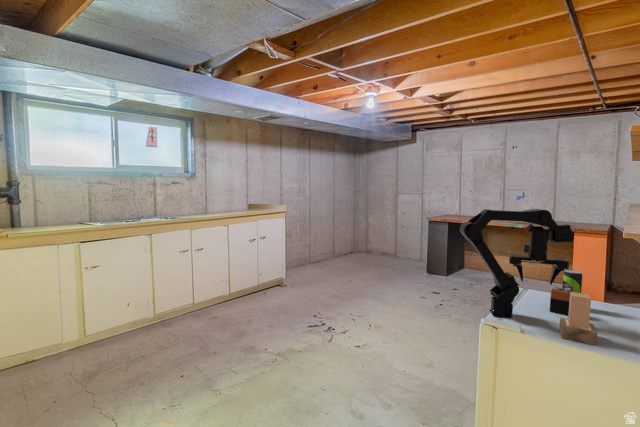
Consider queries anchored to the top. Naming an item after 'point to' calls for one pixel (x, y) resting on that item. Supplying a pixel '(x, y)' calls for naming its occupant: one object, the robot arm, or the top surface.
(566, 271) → the beverage can
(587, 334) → the foundation block
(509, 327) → the top surface
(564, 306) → the battery
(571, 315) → the pillar block
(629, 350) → the top surface
